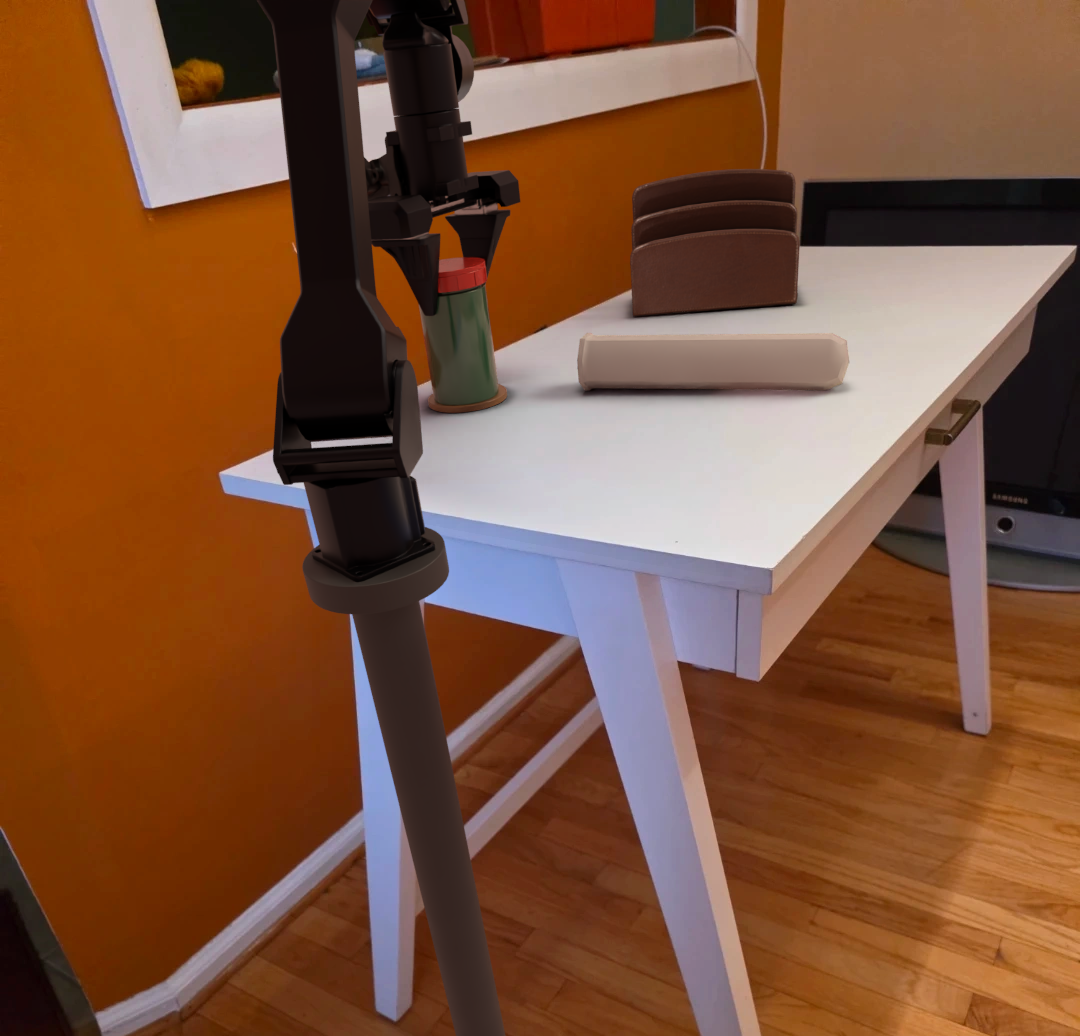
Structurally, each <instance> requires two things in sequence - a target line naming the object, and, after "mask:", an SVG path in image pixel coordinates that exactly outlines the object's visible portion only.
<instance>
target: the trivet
mask: <svg viewBox="0 0 1080 1036" xmlns="http://www.w3.org/2000/svg"><path fill="white" fill-rule="evenodd" d="M498 387H499V392H498V394H497V395H496V396H494V397H492V398H490V399H488V400H485V401H482V402H478V403H473V404H467V405H443V404H439V403H437V402H435V400H434V397H433V393H432V394H430V395H429V396H428V398H427V403H428V407H429V408H430V409H431V410H433V411H436V412H440V413H448V414H456V413H457V414H459V413H460V414H461V413H470V412H475V411H480V410H485V409H488V408H491V407H494V406H496V405H498V404H500V403H502V402H503V401H505V400H506V399H507V397H508V391H507V390H508V389H507V388H506V387H505V386H504V385H503V384H499V383H498Z"/></svg>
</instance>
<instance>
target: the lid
mask: <svg viewBox="0 0 1080 1036" xmlns="http://www.w3.org/2000/svg"><path fill="white" fill-rule="evenodd" d="M485 282H486V283H487V282H488V278H487V273H486V266H485V260H484V259H482V258H476V257H463V256H462V257H451V258H450V257H449V258H444V259H443V258H442V259H439V278H438V293H443V292H452V291H458V290H464V289H468V288H472V287H476V286H479V285H481V284H483V283H485Z"/></svg>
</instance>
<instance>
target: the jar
mask: <svg viewBox="0 0 1080 1036" xmlns="http://www.w3.org/2000/svg"><path fill="white" fill-rule="evenodd" d="M417 306H418V311H419V317H420V324H421V330H422V334H423V336H422V337H423V341H424V348H425V355H426V361H427V366H428V371H429V378H430V384H431V392H432V394H433V397H434V400H435V402H437V403H439V404H443V405H467V404H473V403H478V402H482V401H485V400H488V399H490V398H492V397H494V396H496V395H497V394H498V392H499V387H498V384H499V380H498V372H497V371H498V370H497V364H496V356H495V347H494V341H493V333H492V332H493V331H492V324H491V318H490V308H489V300H488V292H487V285H485V283H483V284H481V285H479V286H476V287H472V288H468V289H464V290H458V291H452V292H443V293H438V299H437V307H436V314H435V315H434V316H425V315H424V314H423V312H422V310H421V308H420V306H419V304H418V303H417Z"/></svg>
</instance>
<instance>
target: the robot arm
mask: <svg viewBox="0 0 1080 1036" xmlns="http://www.w3.org/2000/svg"><path fill="white" fill-rule="evenodd" d="M256 2H257V4H258V5H259V7H260V8H261V10H262V12H263V13H264V14H265V16H266V18H267V19H268V20H269V22H270V24H271V28H272V33H273V42H274V51H275V60H276V61H275V62H276V69H277V78H278V88H279V98H280V99H279V100H280V109H281V117H282V125H283V137H284V146H285V153H286V154H285V155H286V165H287V173H288V183H289V190H290V200H291V201H290V202H291V209H292V210H291V211H292V220H293V221H292V222H293V230H294V239H295V250H296V257H297V266H298V267H297V268H298V277H299V289H300V294H299V295H298V298H297V300H296V302H295V304H294V307H293V309H292V310H291V313H290V315H289V317H288V320H287V322H286V323H285V326H284V328H283V330H282V332H281V335H280V338H279V351H280V352H279V353H280V354H279V355H280V372H279V374H278V378H277V387H276V402H275V418H274V431H273V433H274V434H273V448H272V463H273V465H274V467H275V469H276V473H277V474H278V476H279V478H280V480H281V482H282V485H283V486H289V485H290V486H291V485H294V484H302V483H303V486H304V490H305V493H306V498H307V501H308V505H309V510H310V513H311V517H312V521H313V525H314V530H315V533H316V535H317V540H318V545H320V547H319V548H317V549H314V548H313V549H314V550H313V549H312V550H313V551H312V550H311V551H312V552H311V551H310V552H311V554H312V558H313V559H315V560H316V561H318V562H320V563H322V564H324V565H325V566H327V567H329V568H331V569H333V570H335V571H336V572H338V573H340V574H342V575H344V576H345V577H347V578H349V579H351V580H353V581H355V582H363V581H365V580H368V579H370V578H372V577H375V576H377V575H379V574H382V573H384V572H386V571H388V570H391V569H393V568H395V567H398V566H400V565H402V564H405V563H407V562H409V561H412V560H414V559H416V558H418V557H421V556H423V555H425V554H428V553H430V552H432V551H434V550H435V543H434V542H433V541H431V540H429V539H426V538H424V537H422V536H421V535H423V534H425V527H426V526H425V521H424V515H423V510H422V509H423V508H422V504H421V499H420V494H419V488H418V483H417V479H416V478H415V477H414V476H412V475H411V474H412V473H413V471H414V469H415V467H416V466H417V465H418V463H419V461H420V459H421V458H422V456H423V454H424V446H423V445H424V444H423V435H422V424H421V423H422V422H421V412H420V411H421V410H420V397H419V389H418V382H417V376H416V372H415V368H414V367H413V364H412V362H411V361H410V360H409V359H408V342H407V339H406V337H405V335H404V333H403V331H402V330H401V328H400V327H399V326H397V325H396V324H395V323H394V321H393V320H392V318H391V316H390V314H389V313H388V312H387V311H386V308H384V306H383V304H382V303H381V302H380V300H379V299H378V295H377V287H376V276H375V266H374V256H373V255H374V254H373V253H374V252H373V247H375V248H381V250H383V251H385V252H386V253H387V254H388V255H390V256H391V258H393V260H394V261H395V262H396V264H397V266H398V267H399V269H400V270H401V272H402V274H403V276H404V278H405V280H406V281H407V284H408V286H409V288H410V289H411V292H412V293H413V296H414V298H415V299H416V300H415V301H417V305H418V304H419V306H420V308H421V310H422V312H423V314H424V315H425V316H434V315H435V314H436V307H437V299H438V278H439V260H440V257H441V254H440V253H441V233H440V232H438V233H430V230H431V227H432V224H433V221H434V218H437V217H440V216H443V215H446V214H449V215H446V216H444V219H445V220H446V221H447V223H448V224H449V225H450V226H451V228H452V229H453V230H454V231H455V233H456V234H457V235H458V236H457V237H458V238H459V243H460V248H461V253H462V257H476V258H482V259H484V260H485V266H486V273H487V279H488V277H489V274H490V270H491V268H492V264H493V260H494V257H495V253H496V250H497V247H498V244H499V241H500V238H501V235H502V232H503V229H504V227H505V224H506V221H507V218H509V217H510V216H511V209H499V206H500V207H501V208H507V207H510V206H513V205H517V204H519V203H521V194H520V193H521V192H520V184H519V179H518V178H517V177H516V176H515V175H514V174H513V172H511V170H509V169H504V170H489V171H473V172H471V171H470V172H468V167H467V159H466V151H465V150H466V149H465V144H464V143H465V142H464V137H467V136H472V135H473V128H472V121H471V120H468V121H467V120H465V121H461V112H460V104H459V103H460V102H461V101H462V100H463V99H465V98H466V96H467V95H468V94H469V93H470V90H471V88H472V86H473V82H474V78H475V64H474V58H473V57H472V55H471V52H470V50H469V48H468V47H467V45H466V43H465V42H464V41H463V40H462V39H460V37H458V36H457V35H456V34H455V35H454V34H453V28H452V27H456V26H457V27H458V26H464V25H468V24H469V15H468V11H467V8H466V2H465V0H256ZM365 18H366V20H367V23H368V25H369V27H374V29H375V32H376V34H377V36H382V41H381V42H382V44H381V45H382V50H383V54H382V55H383V60H384V66H385V67H384V68H385V73H386V78H387V85H388V91H389V98H390V104H391V109H392V115H393V122H394V128H395V129H394V130H391V131H386V132H385V137H384V145H385V154H383V155H381V156H380V157H378V158H374V159H371V160H370V161H369V160H368V159H367V158H366V157H365V153H364V141H363V129H362V120H361V108H360V107H361V106H360V97H359V95H360V94H359V85H358V75H357V62H356V52H355V51H356V49H355V42H356V41H355V40H356V38H357V36H358V34H359V31H360V30H361V28H362V25H363V23H364V20H365ZM453 212H454V213H453ZM450 213H452V214H450ZM486 284H487V281H486V282H485V285H486ZM486 286H487V285H486ZM379 438H392V439H391V440H392V441H391V442H383V443H369V444H368V443H367V444H366V443H365V444H354V445H337V446H323V447H322V446H321V447H312V443H316V442H317V443H318V442H319V443H320V442H333V441H334V442H335V441H347V440H365V439H379Z"/></svg>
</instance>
